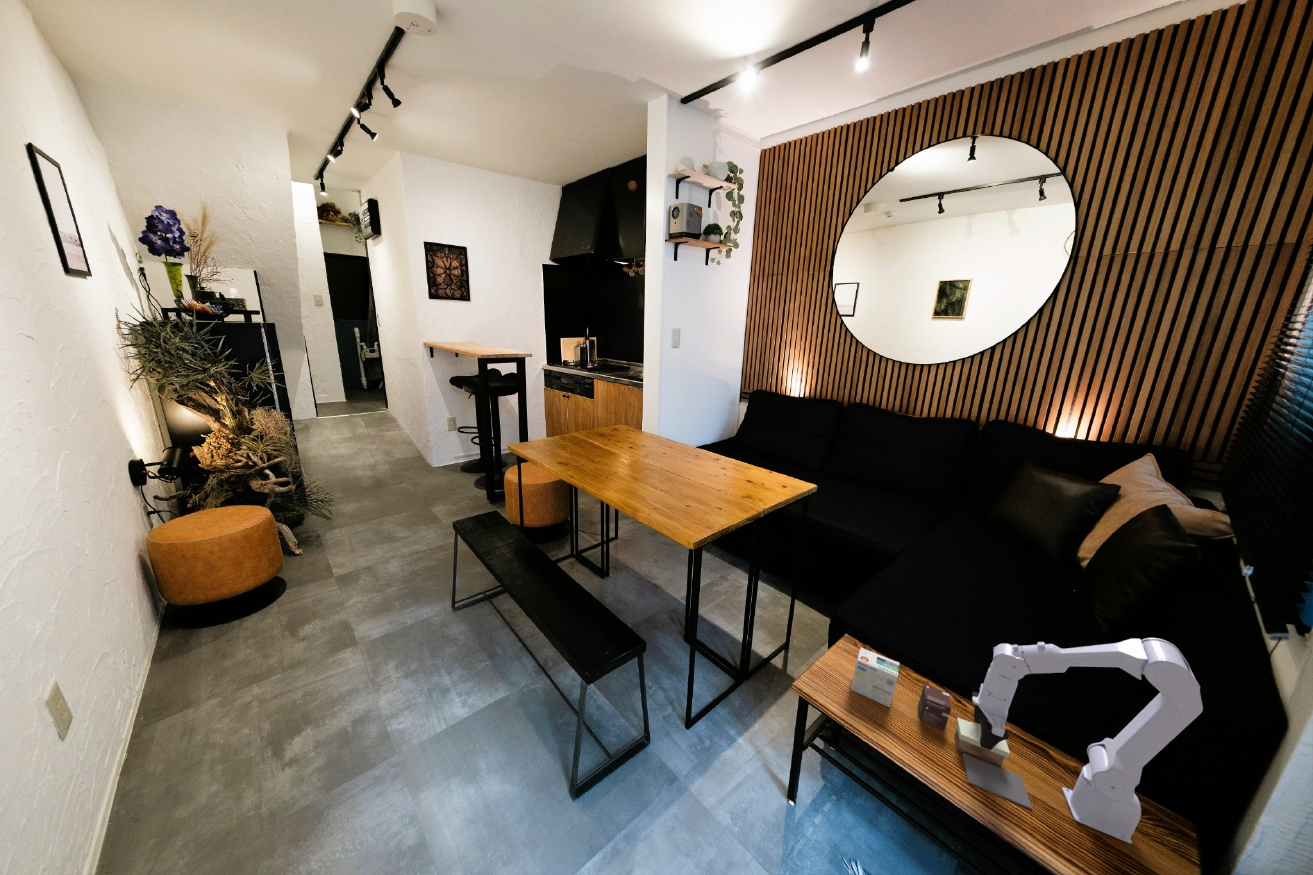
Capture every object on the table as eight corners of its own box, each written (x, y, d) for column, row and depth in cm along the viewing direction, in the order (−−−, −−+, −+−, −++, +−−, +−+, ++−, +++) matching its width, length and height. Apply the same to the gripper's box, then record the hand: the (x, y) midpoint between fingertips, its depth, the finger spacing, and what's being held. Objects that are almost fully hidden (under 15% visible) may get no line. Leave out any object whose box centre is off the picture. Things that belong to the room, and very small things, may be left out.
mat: (1021, 777, 105) (1021, 776, 105) (1031, 809, 98) (1032, 808, 98) (962, 754, 110) (962, 752, 109) (968, 782, 103) (968, 781, 102)
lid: (1002, 739, 110) (1004, 734, 109) (1008, 757, 105) (1010, 753, 105) (955, 721, 114) (957, 717, 114) (959, 738, 109) (960, 734, 109)
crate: (996, 752, 111) (1000, 740, 110) (1000, 767, 107) (1005, 755, 106) (954, 736, 114) (958, 724, 113) (957, 750, 110) (961, 738, 109)
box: (918, 720, 118) (925, 698, 116) (917, 703, 124) (923, 682, 122) (944, 730, 116) (952, 708, 114) (942, 713, 121) (949, 692, 119)
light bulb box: (892, 692, 127) (900, 662, 124) (890, 708, 121) (899, 677, 118) (853, 675, 132) (860, 645, 129) (849, 690, 127) (856, 659, 124)
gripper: (972, 664, 114) (958, 706, 117) (984, 706, 101) (968, 751, 104) (1005, 675, 111) (990, 717, 114) (1021, 719, 98) (1004, 765, 102)
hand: (982, 734), depth 109 cm, fingers open, 7 cm apart
